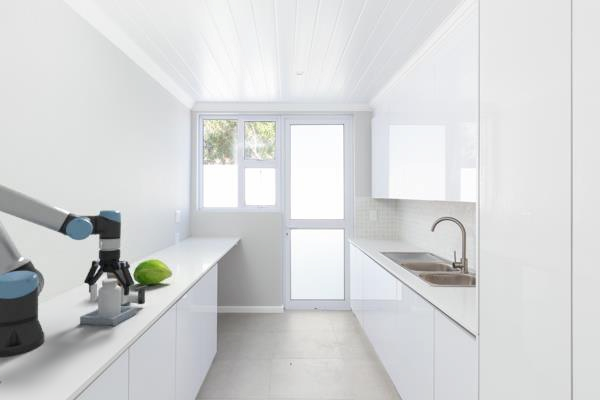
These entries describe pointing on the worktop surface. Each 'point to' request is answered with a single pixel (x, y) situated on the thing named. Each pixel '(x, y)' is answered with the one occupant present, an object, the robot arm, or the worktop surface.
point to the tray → (103, 321)
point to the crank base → (126, 304)
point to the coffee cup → (111, 275)
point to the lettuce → (151, 272)
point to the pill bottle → (109, 299)
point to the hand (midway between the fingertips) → (108, 302)
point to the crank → (137, 298)
